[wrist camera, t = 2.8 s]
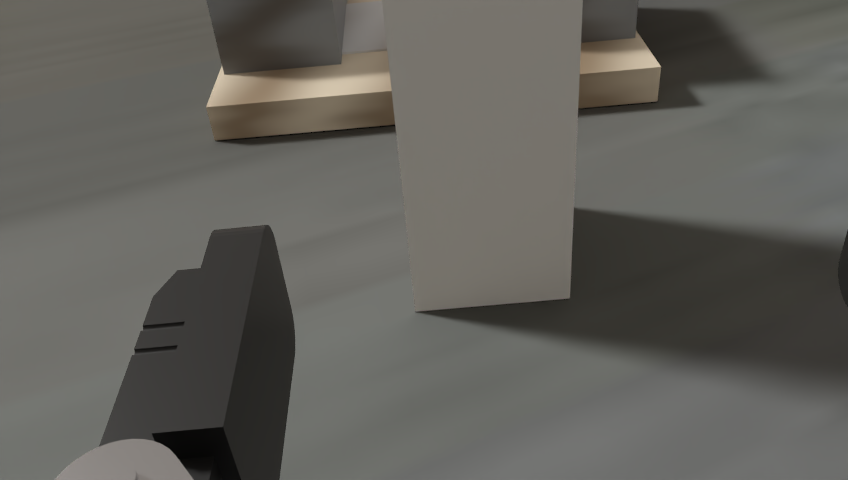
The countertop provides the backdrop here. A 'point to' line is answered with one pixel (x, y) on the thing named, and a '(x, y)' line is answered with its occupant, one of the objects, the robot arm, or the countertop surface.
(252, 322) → the robot arm
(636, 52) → the board
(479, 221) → the white block
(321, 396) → the countertop surface
